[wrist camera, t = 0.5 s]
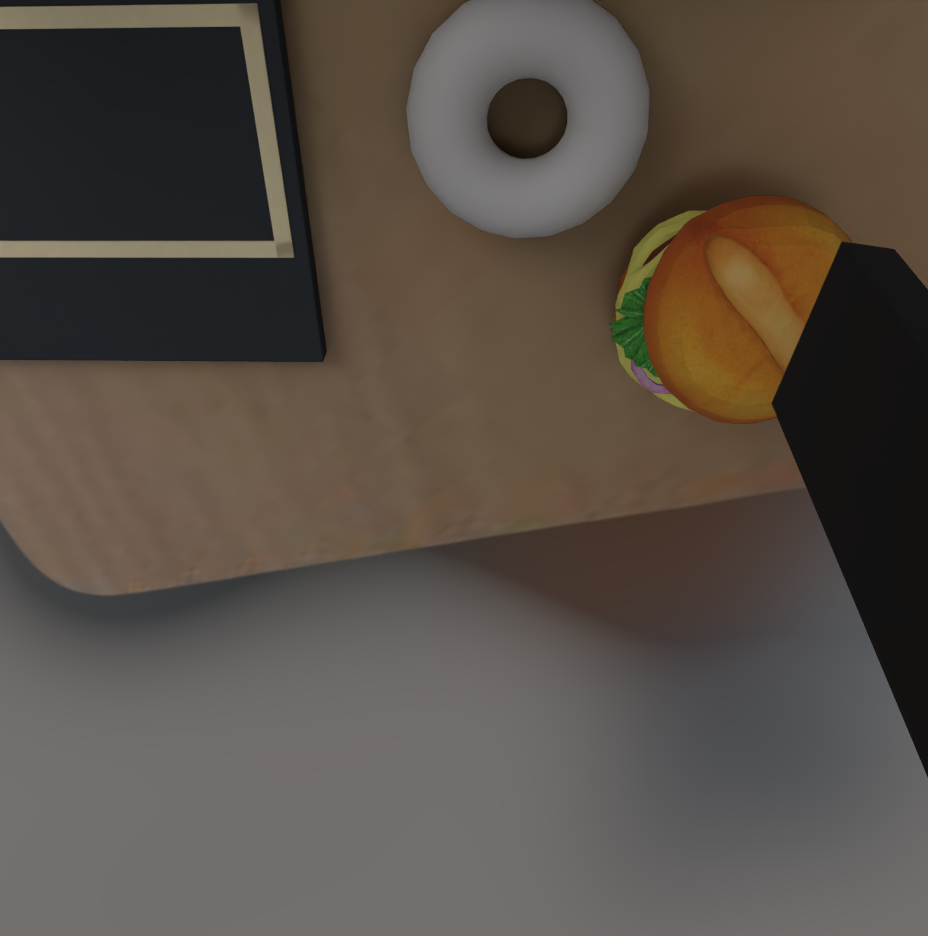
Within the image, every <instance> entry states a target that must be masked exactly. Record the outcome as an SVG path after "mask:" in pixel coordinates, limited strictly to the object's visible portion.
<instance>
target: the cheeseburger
mask: <svg viewBox="0 0 928 936" xmlns="http://www.w3.org/2000/svg"><path fill="white" fill-rule="evenodd" d="M842 241H843V242H849V243H852V240H851V238H850V237H849V236H848V235H847V234H846V233H845V232H844V231H843V230H842V229H841V228H840V227H839V226H838V225H837V224H836V223H835V222H834V221H833V220H832V219H830V218H829V217H828V216H826V215H825V214H824V213H822V212H820V211H818V210H816V209H814V208H812V207H810V206H808V205H806V204H804V203H802V202H800V201H798V200H796V199H792V198H787V197H781V196H775V195H765V196H748V197H744V198H741V199H737V200H733V201H730V202H726V203H723V204H720V205H718V206H716V207H714V208H712V209H710V210H708V211H687V212H685V213H682V214H680V215H677V216H675V217H673V218H670V219H668V220H666V221H664V222H662V223H659V224H658V225H657V226H655V227H654V228H653V229H652V230H651V231H650V232H649V233H648V234H646V235H645V237H644V238H643V239H642V240H641V241H640V242H639V243H638V244H637V245H636V246H635V247H634V249H633V253H632V257H631V261H630V263H629V265H628V266H627V268H626V269H625V271H624V273H623V274H622V276H621V279H620V284H619V290H618V296H617V301H616V304H615V306H616V307H615V313H614V322H613V323H610V324H609V326H610V327H611V328H612V329H613V330H612V340H613V341H615V342H616V347H617V352H618V357H619V362H620V363H621V365H622V366H623V367H624V369H625V370H626V371H627V373H628V374H629V376H630V377H632V378H633V379H634V380H635V381H636V382H637V383H639V384H640V385H641V386H642V387H644V388H646V389H647V390H649V391H650V392H652V393H653V394H654V395H656V396H657V397H658V398H660V399H662V400H664V401H666V402H668V403H670V404H672V405H674V406H677V407H680V408H684V409H687V410H690V411H694V412H697V413H699V414H701V415H703V416H706V417H708V418H710V419H712V420H714V421H718V422H725V423H731V424H751V423H758V422H762V421H766V420H770V419H773V418H777V416H776V413H775V411H774V408H773V406H772V404H771V403H772V401H773V398H774V396H775V394H776V391H777V389H778V387H779V385H780V382H781V380H782V378H783V375H784V373H785V371H786V368H787V366H788V364H789V361H790V359H791V357H792V355H793V352H794V350H795V348H796V345H797V343H798V341H799V338H800V336H801V334H802V331H803V329H804V327H805V325H806V322H807V320H808V318H809V315H810V313H811V311H812V308H813V306H814V304H815V302H816V299H817V297H818V295H819V292H820V290H821V288H822V285H823V283H824V281H825V278H826V276H827V274H828V272H829V269H830V267H831V265H832V262H833V260H834V258H835V255H836V253H837V251H838V249H839V246H840V244H841V242H842Z"/></svg>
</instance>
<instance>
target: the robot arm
mask: <svg viewBox="0 0 928 936" xmlns="http://www.w3.org/2000/svg"><path fill="white" fill-rule="evenodd" d="M771 404H772V406H773V408H774V411H775V413H776V416H777V418H778V420H779V423H780V425H781V428H782V430H783V432H784V435H785V437H786V439H787V442H788V444H789V447H790V449H791V451H792V454H793V456H794V459H795V461H796V463H797V466H798V468H799V471H800V473H801V475H802V478H803V480H804V482H805V485H806V487H807V489H808V492H809V494H810V497H811V499H812V502H813V504H814V506H815V509H816V511H817V513H818V516H819V518H820V521H821V523H822V525H823V528H824V530H825V533H826V535H827V537H828V540H829V542H830V545H831V547H832V549H833V552H834V554H835V557H836V559H837V561H838V564H839V566H840V568H841V571H842V573H843V576H844V578H845V580H846V583H847V585H848V588H849V590H850V592H851V595H852V597H853V599H854V602H855V604H856V607H857V609H858V612H859V614H860V616H861V619H862V621H863V623H864V626H865V628H866V631H867V633H868V635H869V638H870V640H871V643H872V645H873V647H874V650H875V652H876V655H877V657H878V659H879V662H880V664H881V666H882V669H883V671H884V673H885V676H886V678H887V681H888V683H889V686H890V688H891V690H892V693H893V695H894V698H895V700H896V702H897V704H898V707H899V710H900V712H901V714H902V716H903V719H904V721H905V724H906V726H907V729H908V731H909V733H910V736H911V738H912V740H913V743H914V745H915V748H916V750H917V753H918V755H919V757H920V760H921V762H922V764H923V767H924V769H925V772H926V774H927V776H928V289H927V288H926V287H925V286H924V285H923V283H922V282H921V281H920V280H919V279H918V277H917V276H916V275H915V274H914V272H913V271H912V270H911V269H910V268H909V266H908V265H907V264H906V263H905V262H904V260H903V259H902V258H901V257H900V255H899V254H898V253H897V252H896V251H895V249H889V248H882V247H875V246H869V245H862V244H856V243H849V242H843V241H842V242H841V244H840V246H839V249H838V251H837V253H836V255H835V258H834V260H833V262H832V265H831V267H830V269H829V272H828V274H827V276H826V278H825V281H824V283H823V285H822V288H821V290H820V292H819V295H818V297H817V299H816V302H815V304H814V306H813V308H812V311H811V313H810V315H809V318H808V320H807V322H806V325H805V327H804V329H803V331H802V334H801V336H800V338H799V341H798V343H797V345H796V348H795V350H794V352H793V355H792V357H791V359H790V361H789V364H788V366H787V368H786V371H785V373H784V375H783V378H782V380H781V382H780V385H779V387H778V389H777V391H776V394H775V396H774V398H773V401H772V403H771Z"/></svg>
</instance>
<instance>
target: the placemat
mask: <svg viewBox="0 0 928 936" xmlns="http://www.w3.org/2000/svg"><path fill="white" fill-rule="evenodd" d="M325 355H326V345H325V337H324V330H323V322H322V315H321V307H320V300H319V292H318V285H317V277H316V269H315V262H314V254H313V247H312V239H311V232H310V224H309V216H308V209H307V201H306V194H305V186H304V179H303V171H302V164H301V156H300V148H299V141H298V133H297V126H296V118H295V111H294V103H293V96H292V88H291V80H290V73H289V65H288V58H287V50H286V43H285V35H284V27H283V20H282V12H281V5H280V0H0V360H122V361H274V362H323V361H324V358H325Z"/></svg>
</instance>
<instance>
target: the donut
mask: <svg viewBox="0 0 928 936" xmlns="http://www.w3.org/2000/svg"><path fill="white" fill-rule="evenodd" d="M525 78H535V79H539V80H542V81H546V82H547V83H549V84H550V85H552V86H553V87H555V88H556V89H557V90H558V92H559V93H560V94H561V96H562V97H563V99H564V102H565V105H566V108H567V127H566V130H565V134H564V135H563V137H562V138H561V140H560V141H559V143H558V144H557V145H556V146H555V147H554V148H553V149H551V150H550V151H549V152H548V153H546V154H543V155H541V156H538V157H536V158H525V159H521V158H517V157H513V156H510V155H508V154H507V153H505V152H504V151H502V150H500V149H499V148H498V147H497V145H496V144H495V143H494V142H493V141H492V139H491V137H490V134H489V132H488V127H487V114H488V109H489V105H490V103H491V101H492V99H493V97H494V96H495V94H496V93H497V92H498V91H499V90H500V89H501V88H502V87H503V86H505V85H506V84H508V83H510V82H513V81H515V80H517V79H525ZM649 94H650V90H649V86H648V83H647V79H646V75H645V72H644V68H643V65H642V61H641V58H640V54H639V51H638V49H637V48H636V46H635V45H634V44H633V42H632V41H631V39H630V38H629V36H628V35H627V33H626V32H625V30H624V29H623V27H622V26H621V25H620V23H619V22H618V20H617V19H616V17H614V16H613V15H612V14H610V13H609V12H607V11H606V10H605V9H603V8H602V7H600V6H599V5H598V4H596V3H595V2H593V1H592V0H470V1H468V2H466V3H464V4H462V5H461V6H460V7H459V8H458V9H457V10H456V11H455V12H454V13H453V14H452V15H451V16H450V17H449V18H448V19H447V20H446V21H445V22H444V23H443V24H442V25H441V26H440V27H439V28H438V29H436V30H435V31H434V32H433V34H432V35H431V37H430V39H429V41H428V43H427V45H426V47H425V49H424V51H423V52H422V54H421V56H420V58H419V60H418V62H417V64H416V66H415V68H414V69H413V74H412V80H411V85H410V91H409V96H408V102H407V107H406V113H407V121H408V129H409V138H410V146H411V152H412V154H413V156H414V158H415V160H416V163H417V165H418V167H419V169H420V172H421V174H422V176H423V178H424V181H425V183H426V185H427V186H428V187H429V189H430V190H431V191H432V192H433V193H434V194H435V195H436V197H437V198H438V199H439V200H440V201H441V202H442V203H443V204H444V206H445V207H446V208H447V209H448V210H449V211H450V212H451V213H452V214H454V215H456V216H457V217H459V218H461V219H462V220H464V221H466V222H467V223H469V224H471V225H472V226H474V227H476V228H477V229H479V230H481V231H485V232H489V233H493V234H497V235H502V236H506V237H510V238H514V239H516V238H532V237H548V236H552V235H554V234H557V233H560V232H562V231H565V230H568V229H570V228H573V227H576V226H578V225H581V224H583V223H585V222H586V221H587V220H589V219H590V218H591V217H593V216H594V215H595V214H596V213H598V212H599V211H600V210H602V209H603V208H604V207H606V206H607V205H608V204H610V203H611V202H612V201H613V200H614V198H615V197H616V196H617V194H618V193H619V191H620V190H621V189H622V187H623V186H624V185H625V183H626V182H627V181H628V179H629V178H630V176H631V175H632V174H633V172H634V171H635V168H636V165H637V163H638V160H639V157H640V154H641V151H642V148H643V146H644V143H645V140H646V137H647V134H648V118H649Z"/></svg>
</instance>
